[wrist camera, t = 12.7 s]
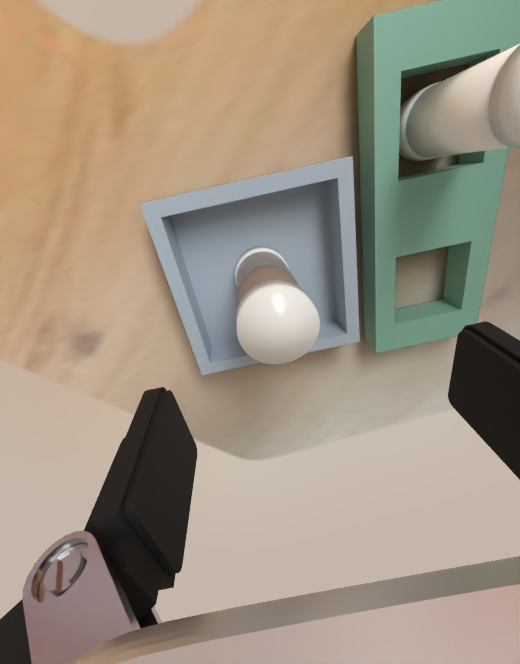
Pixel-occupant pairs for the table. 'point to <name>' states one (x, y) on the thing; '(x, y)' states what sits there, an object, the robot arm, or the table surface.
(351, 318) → the parts tray
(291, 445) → the table surface
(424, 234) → the block
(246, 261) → the fuse
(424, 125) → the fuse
